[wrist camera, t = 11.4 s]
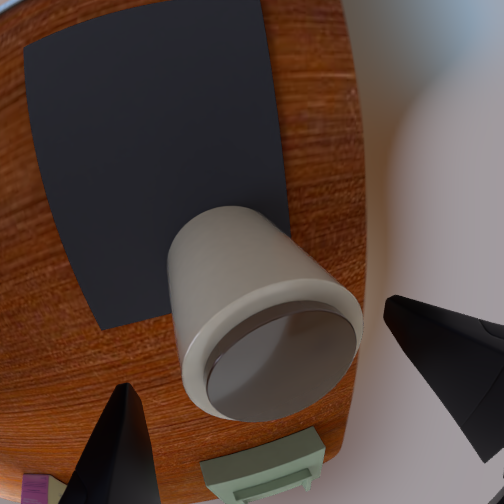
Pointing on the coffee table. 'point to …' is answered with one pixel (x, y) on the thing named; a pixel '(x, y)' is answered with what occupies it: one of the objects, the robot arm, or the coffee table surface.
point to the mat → (152, 139)
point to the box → (41, 489)
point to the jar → (256, 318)
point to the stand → (266, 468)
